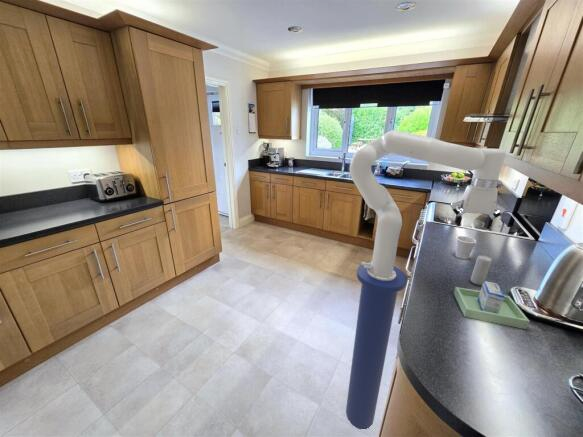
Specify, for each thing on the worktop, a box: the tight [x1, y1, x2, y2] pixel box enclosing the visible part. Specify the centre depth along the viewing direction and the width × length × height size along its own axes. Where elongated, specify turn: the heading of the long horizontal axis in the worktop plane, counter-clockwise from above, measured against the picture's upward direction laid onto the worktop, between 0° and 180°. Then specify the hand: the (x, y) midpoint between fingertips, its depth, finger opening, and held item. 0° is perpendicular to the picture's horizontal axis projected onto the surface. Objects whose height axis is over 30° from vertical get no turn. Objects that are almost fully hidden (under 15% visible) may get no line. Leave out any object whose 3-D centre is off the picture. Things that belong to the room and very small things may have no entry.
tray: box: [453, 286, 530, 330], centre depth 88 cm, size 18×14×3 cm
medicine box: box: [478, 280, 505, 314], centre depth 87 cm, size 8×4×9 cm, turn 154°
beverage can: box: [470, 255, 492, 286], centre depth 102 cm, size 5×5×12 cm
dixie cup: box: [455, 235, 477, 260], centre depth 125 cm, size 8×8×10 cm
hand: (471, 226), depth 95 cm, fingers open, 9 cm apart
